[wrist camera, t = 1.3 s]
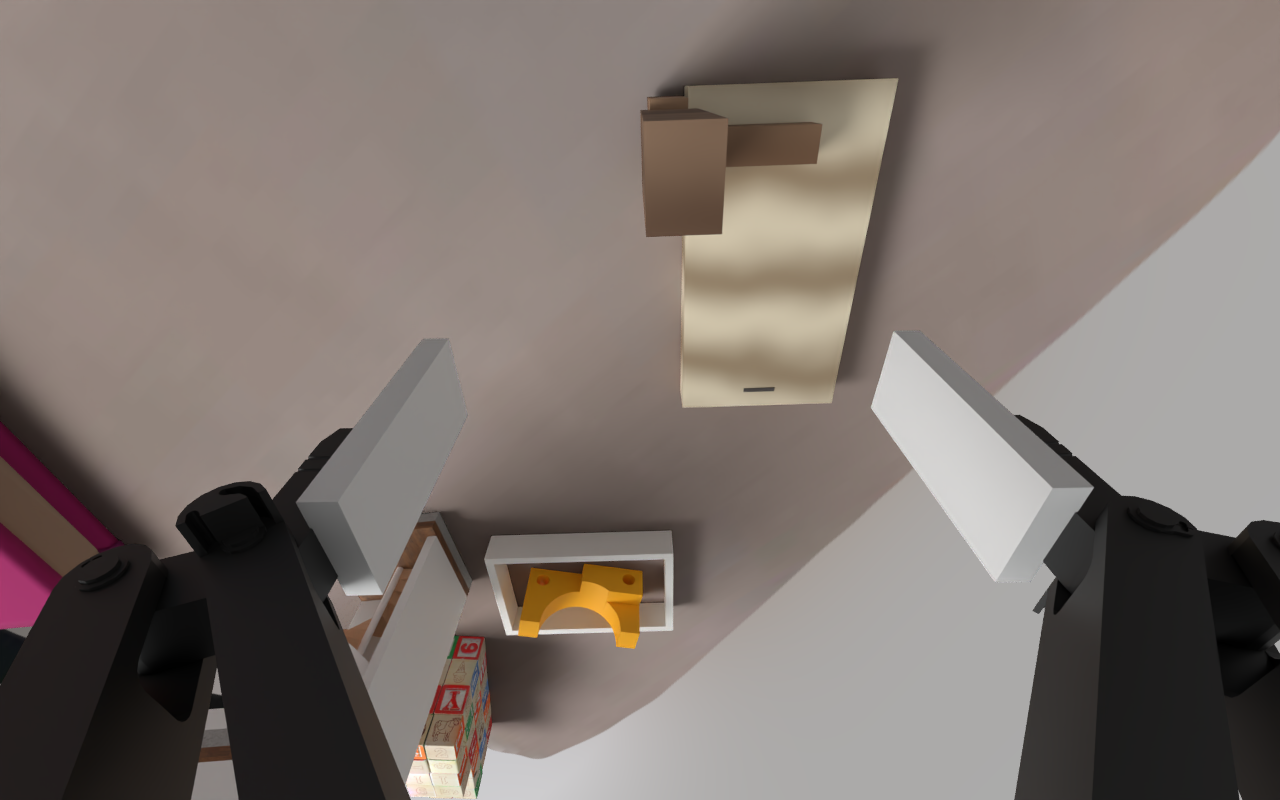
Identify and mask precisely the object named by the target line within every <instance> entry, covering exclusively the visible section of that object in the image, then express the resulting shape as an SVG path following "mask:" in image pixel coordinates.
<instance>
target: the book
mask: <svg viewBox="0 0 1280 800" xmlns="http://www.w3.org/2000/svg"><path fill="white" fill-rule="evenodd" d="M124 545H125V544H124V543H123V542H122V541H121V540H120V541H118V540H117V539H116V538H115V537H114V536H113V535H112V534H111V533H110V532H109V531H108V530H107V529H106V528H105V526H104V525H103V524H102V523H101V522H100V521H99V520H98V519H97V518H96V517H95V516H94V515H93V514H92V513H91V512H90V511H89V510H88V509H87V508H86V507H85V506H84V505H83V504H82V503H81V502H80V501H79V500H78V499H77V498H76V497H75V496H74V495H73V494H72V493H71V492H70V491H69V490H68V489H67V488H66V487H65V486H64V485H63V484H62V483H61V482H60V481H59V480H58V479H57V478H56V477H55V476H54V475H53V474H52V473H51V472H50V471H49V470H48V469H47V468H46V467H45V466H44V465H43V464H42V463H41V462H40V461H39V460H38V459H37V458H36V457H35V456H34V455H33V454H32V453H31V452H30V451H29V450H28V449H27V448H26V447H25V445H24V444H23V443H22V442H21V441H20V440H19V439H18V438H17V437H16V436H15V435H14V434H13V433H12V432H11V431H10V430H9V429H8V428H7V427H6V426H5V425H4V424H3V423H2V422H1V421H0V629H8V628H18V627H29V626H33V625H34V623H35V621H36V619H37V617H38V616H39V614H40V612H41V610H42V608H43V606H44V605H45V603H46V601H47V599H48V597H49V595H50V594H51V592H52V590H53V588H54V587H55V586H56V585H57V583H58V582H59V581H60V580H61V578H62V577H63V576H65V575H66V574H67V573H68V572H70V571H71V570H72V569H73V568H75V567H76V566H77V565H79V564H80V563H82V562H83V561H85V560H87V559H89V558H90V557H92V556H94V555H96V554H99V553H101V552H104V551H107V550H109V549H112V548H115V547H119V546H124Z"/></svg>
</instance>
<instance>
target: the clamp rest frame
mask: <svg viewBox="0 0 1280 800" xmlns="http://www.w3.org/2000/svg"><path fill="white" fill-rule="evenodd" d="M659 559H664V603H640V605H639V618H640V631H673V542H672V530H670V531H636V532H602V533H569V534H535V535H502V536H491V539H490V542H489V545H488V548H487V552H486V555H485V558H484V560H485V564H486V567H487V571H488V574H489V577H490V581H491V584H492V588H493V591H494V594H495V598H496V601H497V605H498V608H499V611H500V615H501V618H502V622H503V625H504V628H505V632H506V635H518V631H519V623H520V617H521V613H522V608H523V607H518V606H517V602H516V598H515V594H514V590H513V586H512V583H511V579H510V575H509V571H508V567H507V564H523V563H557V562H591V561H625V560H659ZM604 632H613V629H612V627H611V626H610V624H609V623H608V622H607V620H606V619H605V618H604V617H602V616H601V615H600V614H598V613H597V612H595V611H593V610H591V609H588V608H584V607H568V608H564V609H561V610H559V611H557V612H555V613H553V614H552V615H551V616H549V617H548V618H547V619H546V620H545V622H544V623H543V624H542V626H541V628H540V630H539V633H538V634H568V633H604Z"/></svg>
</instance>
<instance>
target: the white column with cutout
mask: <svg viewBox="0 0 1280 800" xmlns="http://www.w3.org/2000/svg"><path fill="white" fill-rule="evenodd" d="M471 583H472V579H471V577H470V575H469V573H468V571H467V569H466V567H465V565H464V563H463V560H462V558H461V556H460V554H459V552H458V550H457V548H456V546H455V544H454V542H453V540H452V538H451V536H450V533H449V531H448V529H447V527H446V525H445V523H444V521H443V519H442V517H441V515H440V513H439V512H434V513H424V514H421V515H420V517H419V519H418V521H417V524H416V526H415V528H414V530H413V532H412V534H411V536H410V538H409V540H408V543H407V545H406V547H405V549H404V551H403V553H402V555H401V557H400V559H399V562H398V564H397V566H396V568H395V570H394V572H393V574H392V576H391V578H390V581H389V583H388V585H387V587H386V589H385V591H384V593H383V595H358V596H359V598H360V599H361V601H362V602H361V604H360V606H359V608H358V610H357V612H356V614H355V616H354V617H353V619H352V621H351V623H350V625H349V627H348V629H344V630H343V631H344V634H345V636H346V639H347V641H348V644H349V646H350V649H351V651H352V654H353V656H354V659H355V661H356V664H357V666H358V669H359V671H360V674H361V676H362V679H363V681H364V684H365V686H366V689H367V691H368V694H369V696H370V699H371V701H372V704H373V706H374V709H375V711H376V714H377V717H378V719H379V722H380V724H381V727H382V729H383V732H384V734H385V737H386V739H387V742H388V744H389V747H390V749H391V752H392V754H393V757H394V759H395V762H396V764H397V767H398V769H399V772H400V774H401V777H402V779H403V782H404V784H406V781H407V778H408V775H409V772H410V769H411V766H412V763H413V760H414V757H415V754H416V751H417V748H418V745H419V742H420V739H421V736H422V733H423V730H424V727H425V723H426V720H427V717H428V714H429V711H430V708H431V705H432V702H433V699H434V696H435V693H436V690H437V687H438V684H439V681H440V678H441V675H442V672H443V669H444V666H445V662H446V659H447V656H448V653H449V650H450V647H451V644H452V641H453V638H454V635H455V632H456V629H457V626H458V623H459V620H460V617H461V614H462V611H463V608H464V605H465V601H466V598H467V595H468V592H469V589H470V586H471ZM191 800H239V799H238V793H237V787H236V780H235V774H234V768H233V762H232V755H231V749H230V743H229V737H228V730H227V724H226V718H225V712H224V708H221V709H209V710H208V715H207V720H206V725H205V730H204V736H203V741H202V746H201V751H200V756H199V761H198V766H197V771H196V777H195V782H194V787H193V792H192V797H191Z"/></svg>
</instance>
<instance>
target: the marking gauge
mask: <svg viewBox="0 0 1280 800" xmlns="http://www.w3.org/2000/svg"><path fill="white" fill-rule="evenodd" d="M647 101H648V110H640V111H641V148H642V186H643V202H644V214H645V226H646V237H658V236H687V235H716V234H722V227H723V209H724V191H725V173H726V167H745V166H773V165H801V164H817V159H818V152H819V145H820V138H821V131H822V124H820V123H815V122H794V123H766V124H739V125H728V118H726V117H723V116H720V115H717V114H714V113H711V112H708V111H705V110H702V109H699V108H691V109H688V97H683V96H663V97H647Z"/></svg>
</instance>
